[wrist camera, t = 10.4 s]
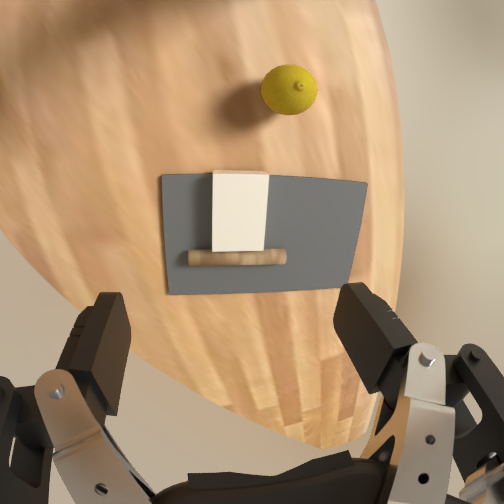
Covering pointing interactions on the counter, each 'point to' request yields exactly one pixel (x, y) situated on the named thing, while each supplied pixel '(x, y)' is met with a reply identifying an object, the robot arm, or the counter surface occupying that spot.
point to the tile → (239, 210)
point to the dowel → (236, 257)
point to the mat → (266, 235)
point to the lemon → (289, 89)
